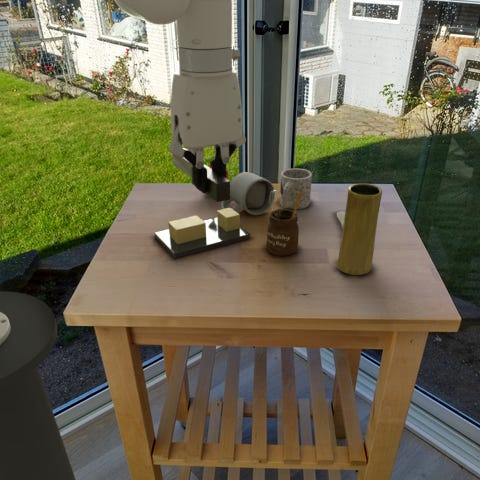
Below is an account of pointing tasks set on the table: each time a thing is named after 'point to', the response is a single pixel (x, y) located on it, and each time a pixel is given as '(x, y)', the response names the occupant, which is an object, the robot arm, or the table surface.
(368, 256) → the vase
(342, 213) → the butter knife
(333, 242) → the table surface
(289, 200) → the mug
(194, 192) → the table surface
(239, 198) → the ceramic mug
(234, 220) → the butter pat
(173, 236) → the butter block
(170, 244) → the board
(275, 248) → the utensil holder
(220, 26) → the robot arm
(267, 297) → the table surface
